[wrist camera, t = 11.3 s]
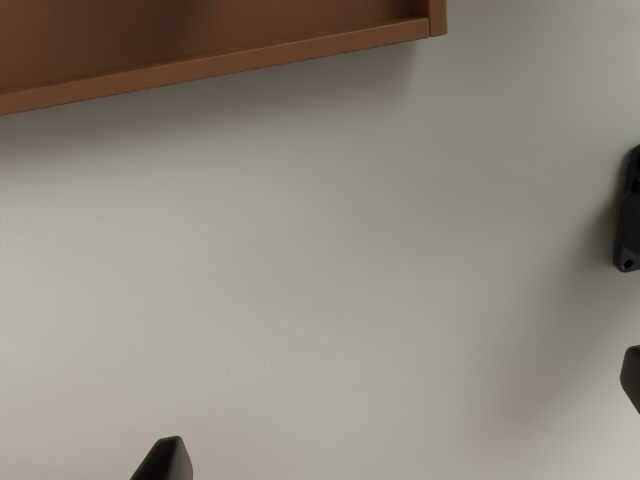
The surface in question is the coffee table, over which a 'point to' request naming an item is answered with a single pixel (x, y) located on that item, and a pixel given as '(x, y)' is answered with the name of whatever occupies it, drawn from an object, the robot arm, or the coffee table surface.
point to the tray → (183, 41)
